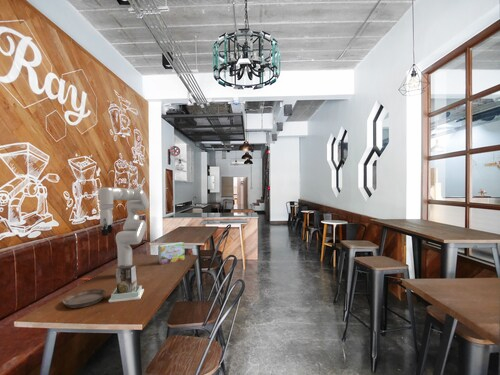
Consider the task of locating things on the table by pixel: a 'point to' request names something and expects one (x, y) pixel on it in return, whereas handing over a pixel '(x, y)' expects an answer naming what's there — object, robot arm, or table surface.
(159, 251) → the snack box
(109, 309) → the table surface
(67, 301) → the plant saucer
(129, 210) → the robot arm
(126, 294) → the stand
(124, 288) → the coffee box
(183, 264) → the table surface
